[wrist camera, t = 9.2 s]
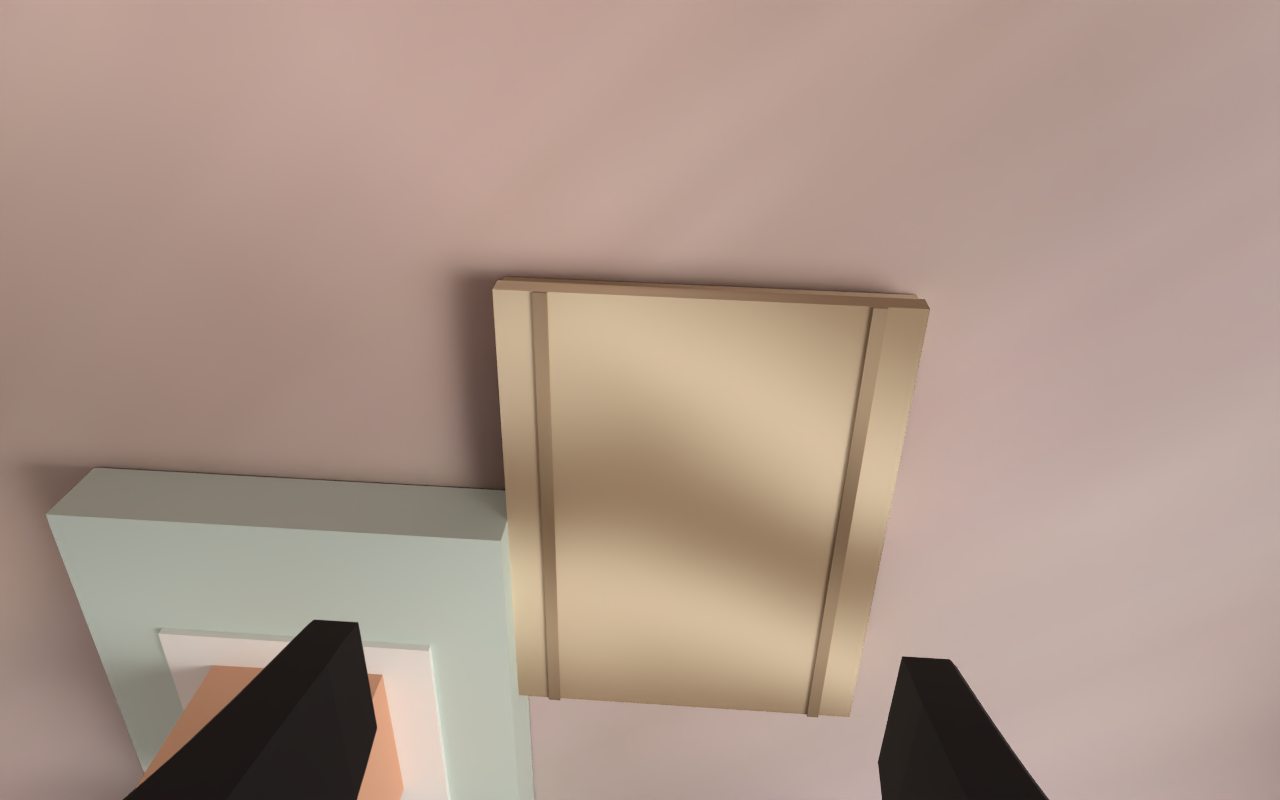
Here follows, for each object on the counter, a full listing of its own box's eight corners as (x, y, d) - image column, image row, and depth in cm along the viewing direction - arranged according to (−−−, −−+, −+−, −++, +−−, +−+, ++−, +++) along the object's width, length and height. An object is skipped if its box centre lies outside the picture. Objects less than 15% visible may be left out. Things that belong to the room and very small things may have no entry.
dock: (536, 837, 30) (507, 999, 25) (211, 813, 30) (128, 968, 26) (516, 490, 23) (472, 633, 18) (94, 467, 23) (-46, 601, 19)
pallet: (843, 682, 25) (850, 719, 24) (526, 662, 26) (518, 697, 25) (917, 286, 19) (930, 310, 18) (503, 267, 20) (491, 291, 19)
